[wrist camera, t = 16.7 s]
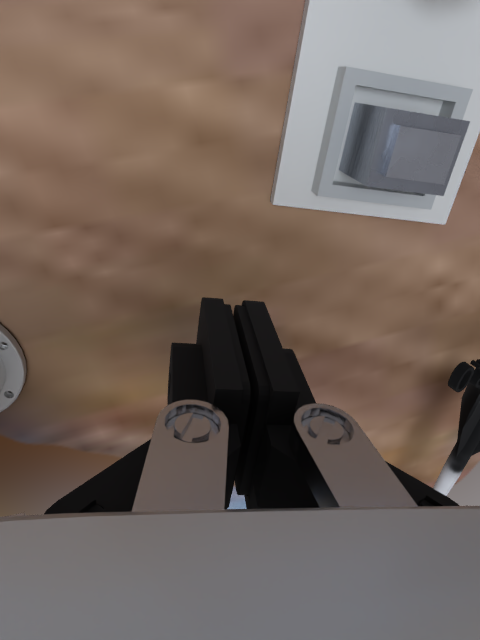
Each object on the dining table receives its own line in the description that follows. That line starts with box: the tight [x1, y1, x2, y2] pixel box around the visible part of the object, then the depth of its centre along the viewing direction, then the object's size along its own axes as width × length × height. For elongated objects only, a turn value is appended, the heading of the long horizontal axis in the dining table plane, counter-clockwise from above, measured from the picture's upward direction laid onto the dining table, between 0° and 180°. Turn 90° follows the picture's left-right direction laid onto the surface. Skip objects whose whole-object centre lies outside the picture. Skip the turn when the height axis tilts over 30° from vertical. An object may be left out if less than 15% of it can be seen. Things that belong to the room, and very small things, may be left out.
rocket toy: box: [433, 359, 480, 496], centre depth 44 cm, size 14×6×23 cm
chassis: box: [270, 0, 480, 224], centre depth 31 cm, size 24×16×6 cm, turn 172°
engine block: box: [339, 102, 470, 196], centre depth 33 cm, size 5×6×7 cm
